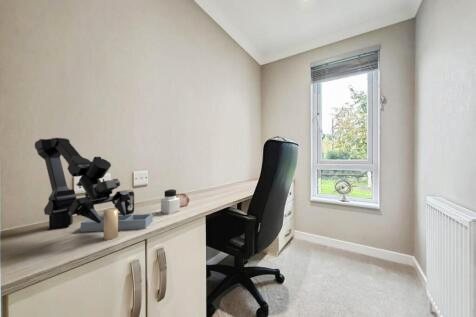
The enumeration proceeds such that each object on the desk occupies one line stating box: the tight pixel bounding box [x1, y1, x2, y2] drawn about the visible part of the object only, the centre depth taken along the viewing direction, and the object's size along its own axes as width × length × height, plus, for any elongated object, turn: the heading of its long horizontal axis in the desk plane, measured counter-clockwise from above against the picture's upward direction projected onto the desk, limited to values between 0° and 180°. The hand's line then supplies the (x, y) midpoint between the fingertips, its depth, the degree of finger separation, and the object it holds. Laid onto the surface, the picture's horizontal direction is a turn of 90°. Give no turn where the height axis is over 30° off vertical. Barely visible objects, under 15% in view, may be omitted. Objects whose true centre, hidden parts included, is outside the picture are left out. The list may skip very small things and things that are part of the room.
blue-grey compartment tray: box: [80, 213, 154, 233], centre depth 80 cm, size 25×9×4 cm, turn 97°
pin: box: [103, 208, 119, 241], centre depth 69 cm, size 4×4×10 cm
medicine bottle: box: [160, 189, 181, 215], centre depth 102 cm, size 7×7×12 cm
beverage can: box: [125, 189, 135, 215], centre depth 100 cm, size 7×7×12 cm
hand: (113, 218), depth 68 cm, fingers open, 9 cm apart
